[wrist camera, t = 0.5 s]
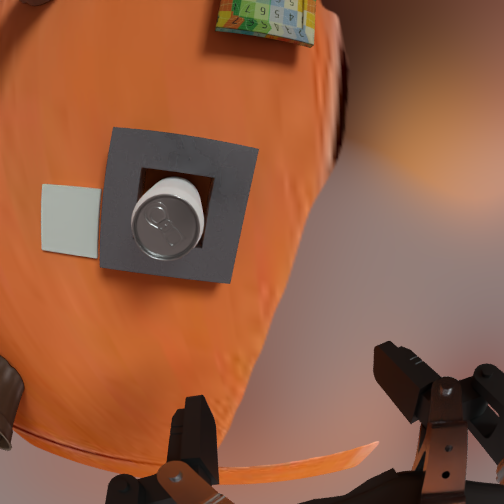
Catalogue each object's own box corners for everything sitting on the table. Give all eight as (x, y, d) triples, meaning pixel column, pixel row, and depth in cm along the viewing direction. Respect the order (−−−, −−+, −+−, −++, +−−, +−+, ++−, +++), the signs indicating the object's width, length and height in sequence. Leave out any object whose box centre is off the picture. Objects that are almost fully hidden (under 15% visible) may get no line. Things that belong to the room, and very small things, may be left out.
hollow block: (108, 255, 32) (99, 267, 29) (122, 129, 28) (113, 127, 24) (225, 270, 37) (230, 283, 33) (251, 149, 32) (258, 149, 28)
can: (181, 165, 31) (175, 172, 20) (210, 208, 33) (220, 237, 22) (138, 196, 31) (111, 220, 20) (168, 237, 34) (159, 280, 23)
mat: (43, 248, 30) (41, 249, 29) (44, 183, 27) (42, 184, 26) (97, 257, 32) (96, 258, 32) (101, 189, 29) (100, 189, 29)
